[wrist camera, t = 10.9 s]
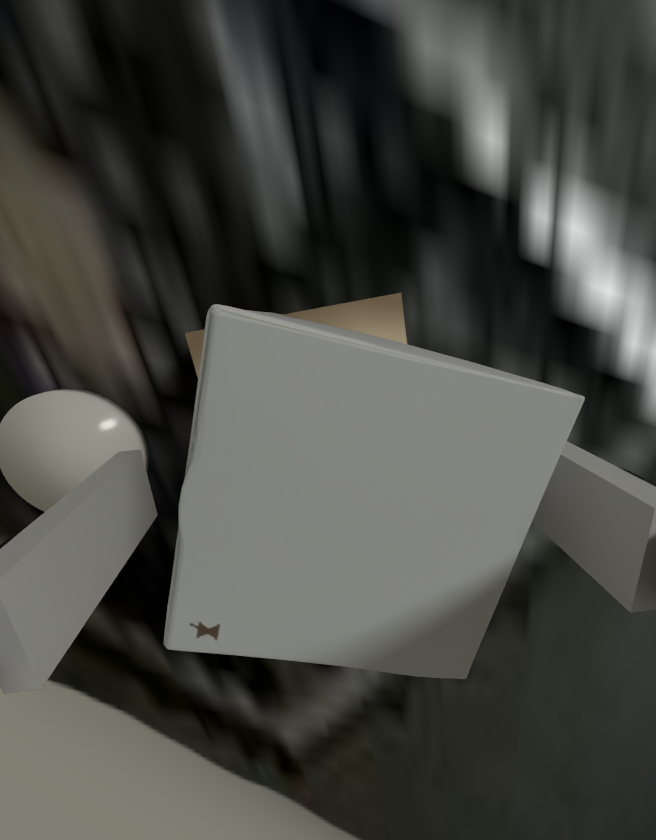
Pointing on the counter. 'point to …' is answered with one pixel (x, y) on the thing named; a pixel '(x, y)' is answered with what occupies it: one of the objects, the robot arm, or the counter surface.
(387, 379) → the supplement box
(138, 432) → the cream smooth round part
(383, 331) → the maple block
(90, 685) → the counter surface
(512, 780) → the counter surface
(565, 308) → the counter surface
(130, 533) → the robot arm
